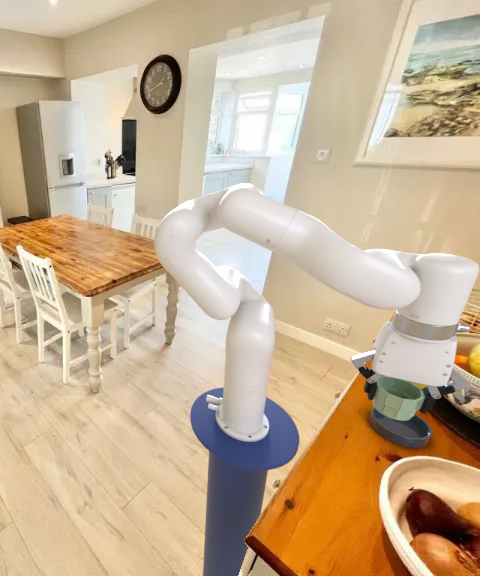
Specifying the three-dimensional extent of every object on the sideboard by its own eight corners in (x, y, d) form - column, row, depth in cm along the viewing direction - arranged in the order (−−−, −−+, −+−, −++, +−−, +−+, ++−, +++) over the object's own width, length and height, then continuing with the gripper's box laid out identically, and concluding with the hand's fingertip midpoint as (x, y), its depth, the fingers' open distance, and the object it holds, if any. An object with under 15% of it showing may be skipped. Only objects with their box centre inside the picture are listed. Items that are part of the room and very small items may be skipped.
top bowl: (371, 415, 60) (378, 393, 58) (367, 392, 65) (374, 371, 63) (419, 428, 56) (429, 406, 54) (411, 403, 62) (420, 382, 60)
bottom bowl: (371, 436, 70) (373, 428, 69) (367, 406, 77) (369, 399, 76) (433, 455, 64) (437, 447, 63) (422, 421, 72) (426, 414, 71)
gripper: (490, 324, 51) (452, 404, 58) (356, 306, 61) (338, 377, 68) (509, 348, 46) (466, 433, 53) (359, 324, 55) (339, 399, 62)
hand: (394, 401), depth 60 cm, fingers closed on top bowl, 6 cm apart
